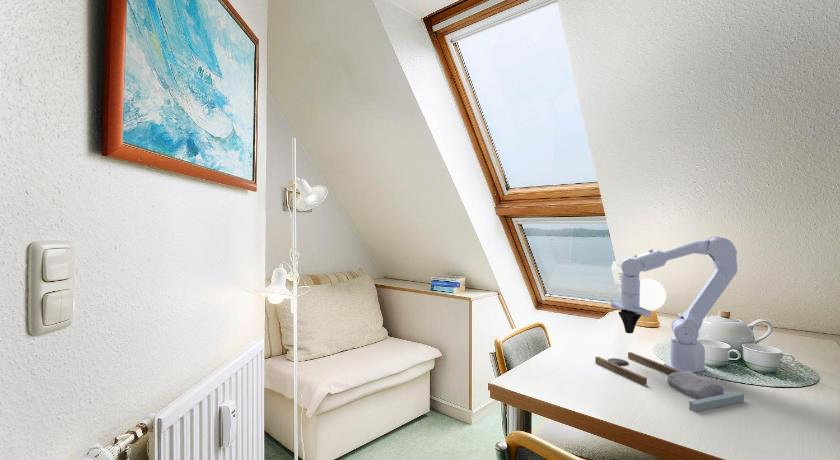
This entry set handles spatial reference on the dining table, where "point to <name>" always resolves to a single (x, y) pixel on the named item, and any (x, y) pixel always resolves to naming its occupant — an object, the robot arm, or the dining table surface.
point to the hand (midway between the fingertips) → (629, 332)
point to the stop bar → (716, 401)
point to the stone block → (695, 385)
